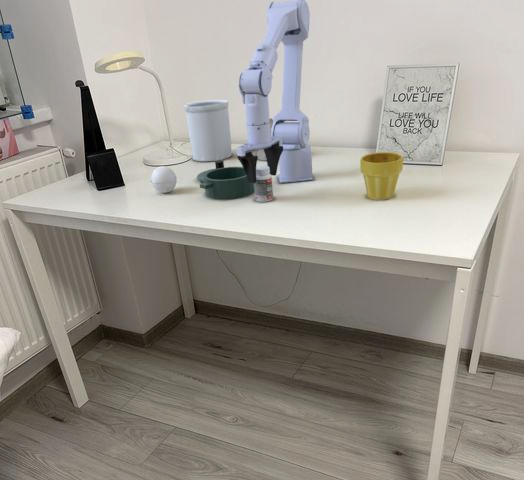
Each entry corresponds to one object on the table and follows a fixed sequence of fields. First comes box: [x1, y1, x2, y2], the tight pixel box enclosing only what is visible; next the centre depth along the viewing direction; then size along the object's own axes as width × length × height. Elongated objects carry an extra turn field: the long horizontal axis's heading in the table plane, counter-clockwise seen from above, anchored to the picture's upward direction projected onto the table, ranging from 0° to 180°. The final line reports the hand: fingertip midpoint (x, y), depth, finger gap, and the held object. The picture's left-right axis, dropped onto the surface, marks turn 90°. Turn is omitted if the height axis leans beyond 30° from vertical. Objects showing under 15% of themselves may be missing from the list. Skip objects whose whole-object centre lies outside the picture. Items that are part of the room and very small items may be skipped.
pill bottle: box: [254, 165, 274, 203], centre depth 142 cm, size 5×5×8 cm
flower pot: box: [359, 151, 404, 201], centre depth 136 cm, size 10×10×10 cm
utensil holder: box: [183, 99, 233, 162], centre depth 185 cm, size 15×15×18 cm
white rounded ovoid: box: [150, 165, 178, 194], centre depth 154 cm, size 10×7×7 cm
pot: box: [199, 166, 255, 201], centre depth 151 cm, size 14×19×5 cm
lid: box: [196, 159, 225, 183], centre depth 165 cm, size 15×15×5 cm
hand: (262, 178), depth 141 cm, fingers open, 7 cm apart
